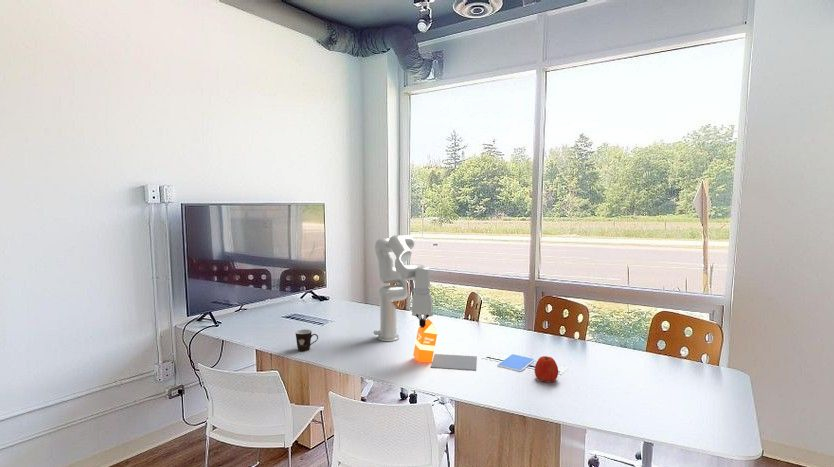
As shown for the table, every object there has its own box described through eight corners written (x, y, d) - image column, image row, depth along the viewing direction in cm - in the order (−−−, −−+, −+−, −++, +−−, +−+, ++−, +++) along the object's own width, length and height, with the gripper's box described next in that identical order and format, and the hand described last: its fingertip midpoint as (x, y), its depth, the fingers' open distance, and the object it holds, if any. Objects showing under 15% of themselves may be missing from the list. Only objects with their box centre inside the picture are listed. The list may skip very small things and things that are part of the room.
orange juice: (417, 361, 203) (425, 321, 203) (412, 355, 211) (420, 317, 211) (432, 362, 205) (439, 323, 205) (426, 356, 213) (434, 319, 213)
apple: (553, 374, 190) (553, 352, 190) (561, 383, 180) (562, 360, 179) (531, 374, 190) (531, 352, 189) (538, 384, 180) (539, 361, 179)
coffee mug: (292, 350, 222) (291, 332, 222) (303, 346, 230) (303, 328, 229) (308, 354, 217) (308, 335, 216) (319, 349, 224) (319, 331, 224)
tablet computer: (512, 355, 216) (512, 353, 216) (535, 361, 209) (535, 358, 209) (496, 367, 200) (496, 364, 200) (520, 373, 193) (520, 370, 193)
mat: (430, 367, 198) (430, 366, 198) (434, 354, 216) (434, 354, 216) (476, 370, 195) (476, 369, 195) (476, 357, 213) (476, 356, 213)
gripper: (406, 292, 203) (406, 328, 204) (436, 293, 201) (436, 329, 202) (409, 289, 211) (409, 324, 212) (438, 290, 208) (438, 325, 209)
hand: (422, 327), depth 207 cm, fingers closed
